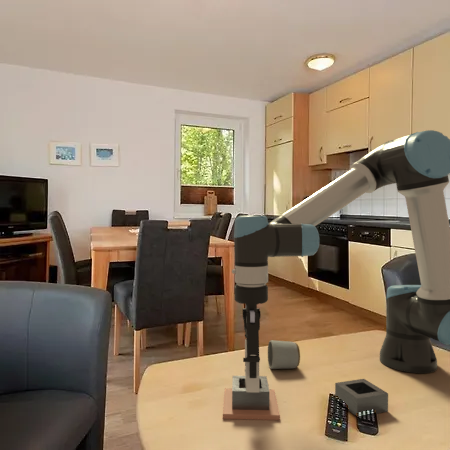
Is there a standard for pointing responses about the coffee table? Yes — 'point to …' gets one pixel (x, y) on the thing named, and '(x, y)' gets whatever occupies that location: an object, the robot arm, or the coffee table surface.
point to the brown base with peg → (250, 414)
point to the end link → (249, 395)
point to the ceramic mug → (283, 354)
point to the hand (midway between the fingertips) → (251, 377)
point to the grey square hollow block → (362, 396)
